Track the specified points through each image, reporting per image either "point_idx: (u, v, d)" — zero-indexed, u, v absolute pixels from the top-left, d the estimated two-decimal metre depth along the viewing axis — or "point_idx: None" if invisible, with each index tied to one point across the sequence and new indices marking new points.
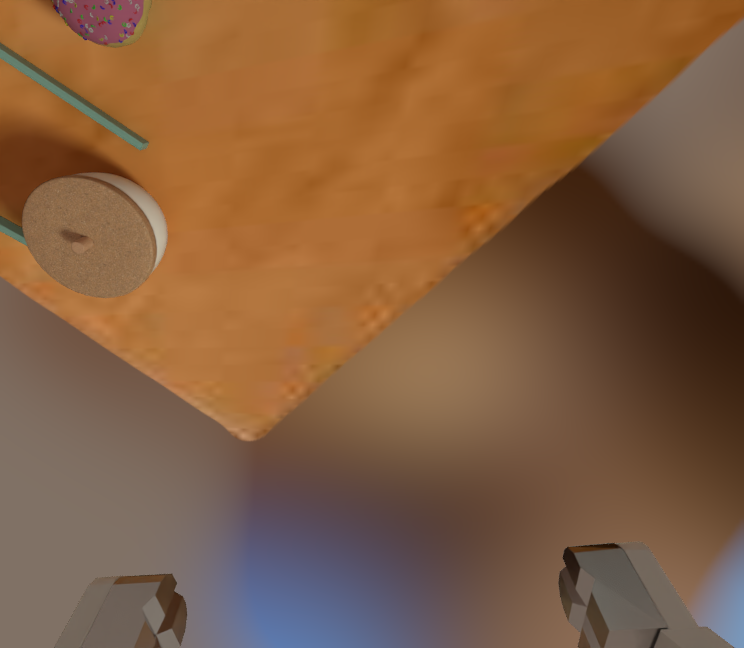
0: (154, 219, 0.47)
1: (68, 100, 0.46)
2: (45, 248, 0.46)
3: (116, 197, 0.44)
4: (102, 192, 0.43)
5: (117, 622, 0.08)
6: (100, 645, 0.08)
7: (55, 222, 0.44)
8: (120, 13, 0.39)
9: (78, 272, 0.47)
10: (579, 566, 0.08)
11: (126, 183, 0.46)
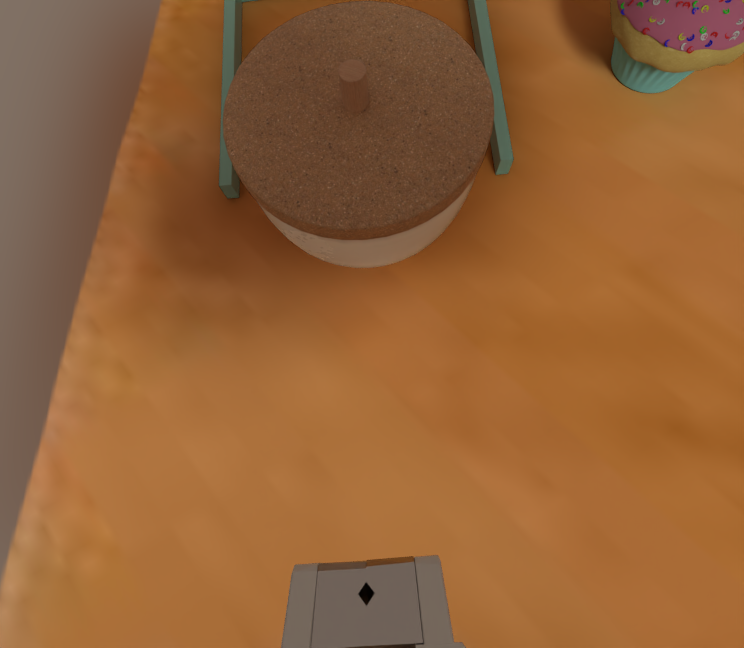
0: (462, 200, 0.22)
1: (487, 59, 0.30)
2: (287, 53, 0.22)
3: (487, 102, 0.20)
4: (476, 80, 0.21)
5: (339, 608, 0.08)
6: (331, 630, 0.08)
7: (354, 45, 0.21)
8: (717, 15, 0.24)
9: (276, 116, 0.21)
10: (366, 580, 0.09)
11: None
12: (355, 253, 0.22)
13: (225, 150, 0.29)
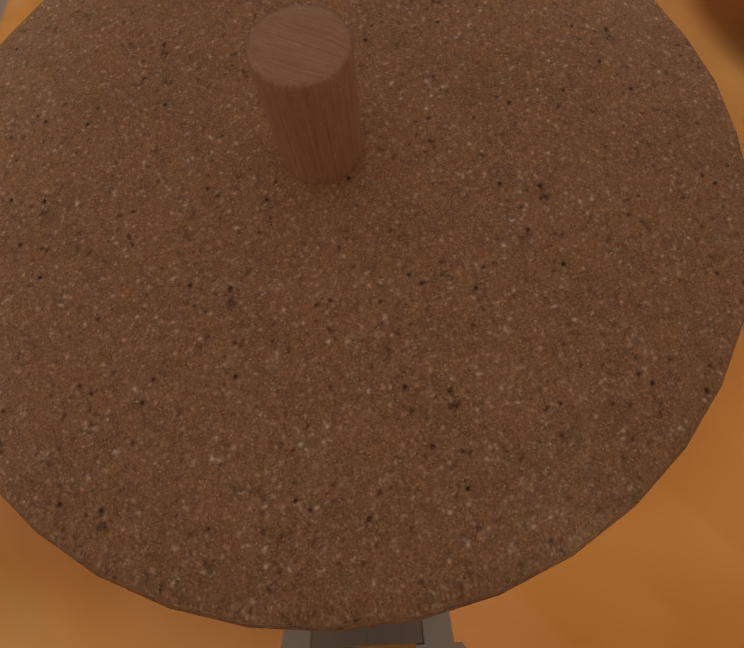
0: None
1: None
2: (134, 6, 0.08)
3: (732, 162, 0.07)
4: (688, 92, 0.07)
5: None
6: None
7: None
8: None
9: (72, 192, 0.07)
10: None
11: None
12: None
13: None
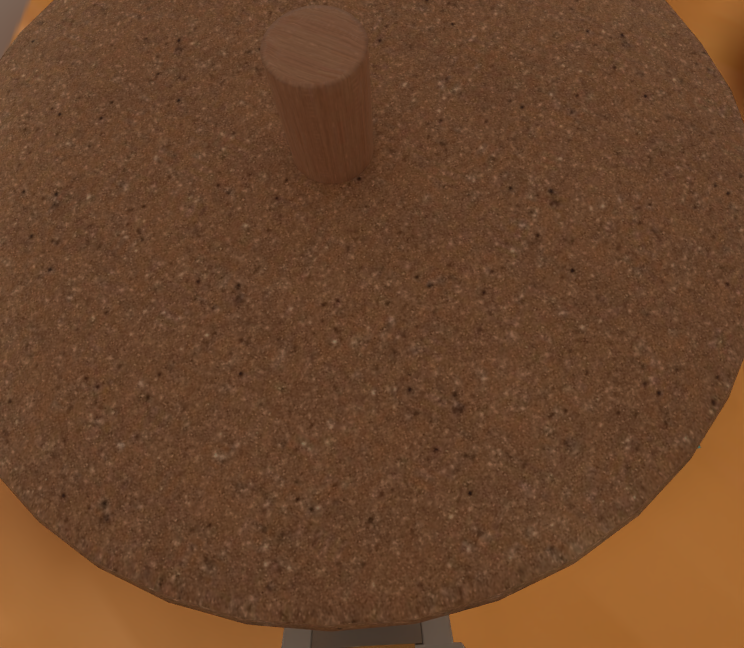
0: None
1: None
2: (150, 1, 0.08)
3: None
4: (703, 101, 0.07)
5: None
6: None
7: None
8: None
9: (84, 185, 0.07)
10: None
11: None
12: None
13: None
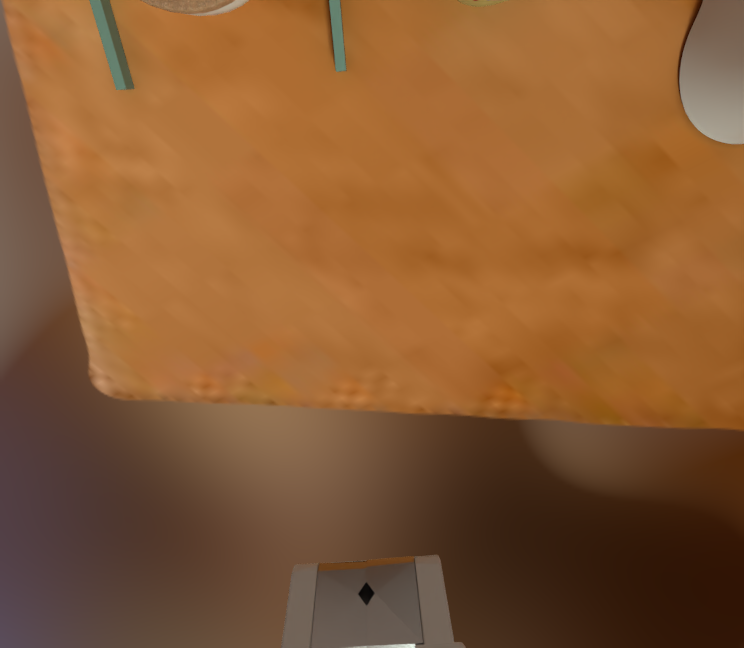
0: None
1: None
2: None
3: None
4: None
5: (339, 608, 0.08)
6: (331, 630, 0.08)
7: None
8: None
9: None
10: (366, 580, 0.09)
11: None
12: None
13: (109, 52, 0.35)
